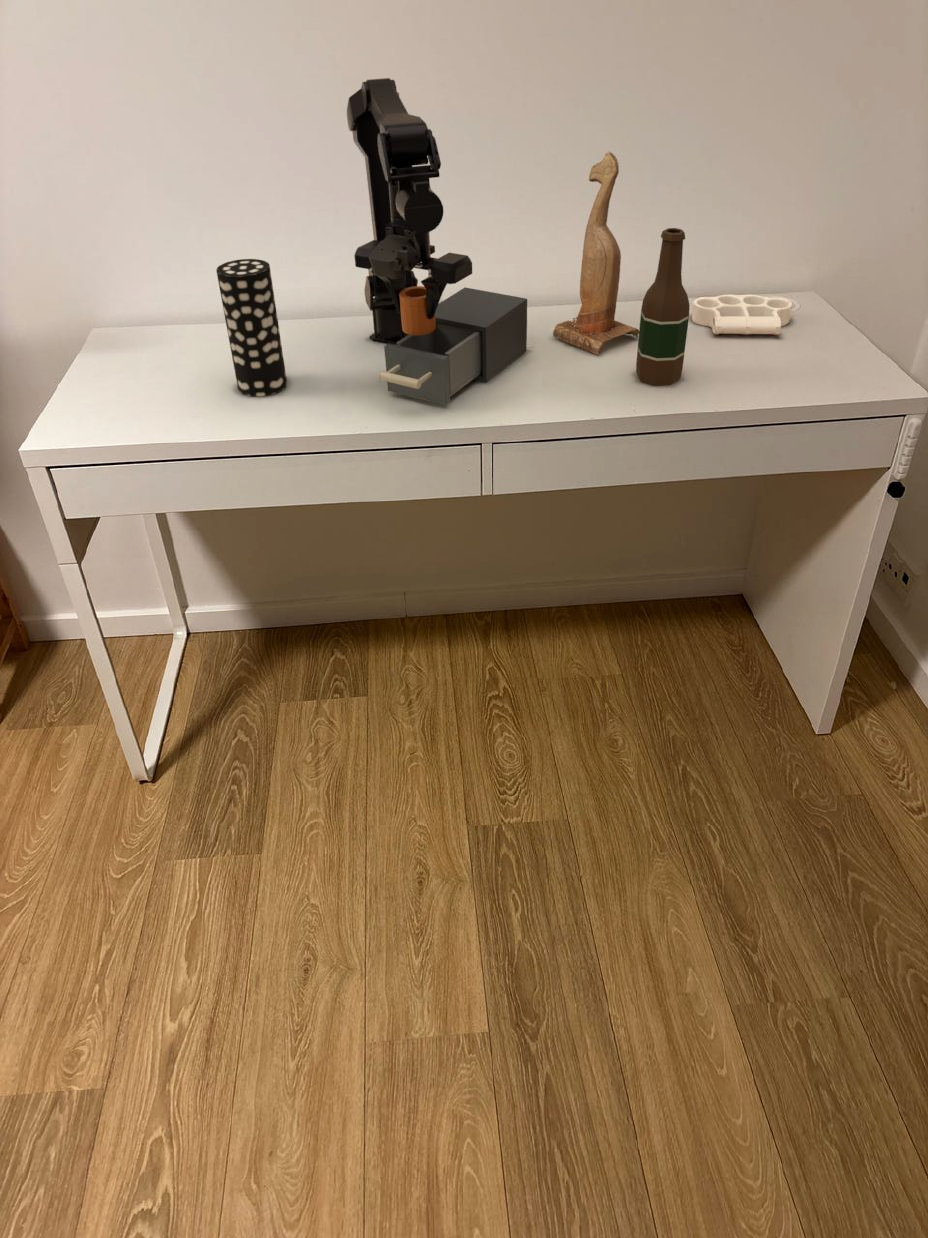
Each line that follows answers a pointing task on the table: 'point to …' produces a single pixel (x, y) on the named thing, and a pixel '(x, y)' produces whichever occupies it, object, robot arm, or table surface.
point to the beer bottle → (664, 317)
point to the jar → (415, 311)
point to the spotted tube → (252, 326)
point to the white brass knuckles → (742, 314)
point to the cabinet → (489, 325)
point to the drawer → (434, 363)
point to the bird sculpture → (598, 272)
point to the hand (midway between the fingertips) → (415, 315)
